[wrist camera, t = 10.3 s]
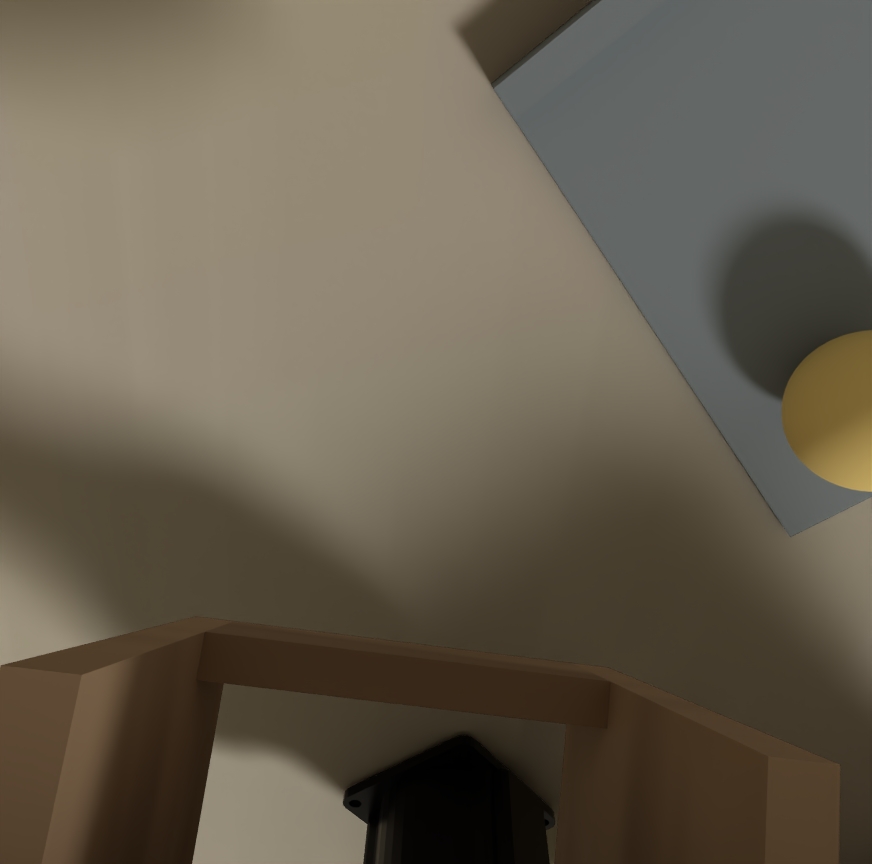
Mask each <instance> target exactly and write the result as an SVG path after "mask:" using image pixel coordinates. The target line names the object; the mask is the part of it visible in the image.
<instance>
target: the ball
mask: <svg viewBox="0 0 872 864" xmlns="http://www.w3.org/2000/svg"><path fill="white" fill-rule="evenodd" d="M781 418H782V424H783V429H784V433H785V435H786V438H787V441H788V443H789V445H790V447H791V448H792V450H793V451H794V453H795V455H796V456H797V457H798V458H799V460H800V461H801V462H802V463H803V464H804V465H805V466H806V467H807V468H808V469H810V470H811V471H812V472H813V473H815V474H816V475H818V476H819V477H821V478H823V479H825V480H827V481H829V482H831V483H833V484H835V485H838V486H841V487H844V488H848V489H852V490H858V491H867V492H872V330H866V331H859V332H854V333H850V334H846V335H843V336H840V337H838V338H835V339H833V340H830V341H828V342H827V343H825V344H823V345H821V346H820V347H818V348H817V349H815V350H814V351H813V352H812V353H810V354H809V355H808V356H807V357H806V358H805V359H804V360H803V361H802V362H801V363H800V364H799V366H798V367H797V368H796V369H795V371H794V372H793V374H792V376H791V377H790V379H789V381H788V383H787V386H786V388H785V391H784V395H783V400H782V412H781Z"/></svg>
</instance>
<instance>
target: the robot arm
mask: <svg viewBox="0 0 872 864" xmlns="http://www.w3.org/2000/svg"><path fill="white" fill-rule="evenodd" d="M343 805H344V806H345V808H347V809H348V810H349V811H351V812H352V813H353V814H355V815H356V816H357V817H359V818H360V819H361V820H363V821H364V822H365V823H367V824H368V825H367V834H366V844H365V853H364V862H363V864H550V863H549V854H548V845H547V836H546V830H547V829H550V828H551V827H553V826H554V825H555V817H554V811H553V810H552V809H551V808H550V807H549V806H548V805H547V804H546V803H545V802H544V801H542V799H541V798H540V797H538V796H537V795H536V794H535V793H534V792H533V791H532V790H531V789H530V788H528V787H527V786H526V785H525V784H524V783H523V782H522V781H521V780H520V779H518V778H517V777H516V776H515V775H514V774H513V773H512V772H511V771H510V770H508V769H507V768H506V767H505V766H504V765H502V764H501V763H500V762H499V761H498V760H497V759H496V758H495V757H494V756H492V755H491V754H490V753H489V752H488V751H487V750H486V749H485V748H484V747H482V746H481V745H480V744H479V743H478V742H477V741H476V740H475V739H473V738H472V737H469V736H458V737H455V738H453V739H451V740H449V741H447V742H445V743H443V744H441V745H438V746H436V747H434V748H432V749H430V750H428V751H426V752H424V753H422V754H420V755H417V756H415V757H413V758H411V759H409V760H407V761H405V762H403V763H401V764H399V765H396V766H394V767H392V768H390V769H388V770H386V771H384V772H382V773H380V774H378V775H376V776H373V777H371V778H369V779H367V780H365V781H363V782H361V783H359V784H357V785H355V786H352V787H350V788H348V789H347V790H346V791H345V793H344V799H343Z"/></svg>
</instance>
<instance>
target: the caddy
mask: <svg viewBox="0 0 872 864" xmlns="http://www.w3.org/2000/svg"><path fill="white" fill-rule="evenodd" d="M224 683H227V684H235V685H244V686H252V687H261V688H269V689H277V690H286V691H294V692H303V693H311V694H319V695H328V696H336V697H344V698H353V699H361V700H370V701H378V702H386V703H395V704H403V705H412V706H420V707H428V708H437V709H445V710H453V711H462V712H470V713H479V714H487V715H495V716H504V717H512V718H521V719H529V720H537V721H546V722H554V723H562V724H566V735H565V747H564V759H563V770H562V782H561V794H560V805H559V817H558V829H557V840H556V852H555V864H839V829H840V765H839V764H837V763H835V762H832V761H830V760H827V759H825V758H823V757H820V756H818V755H815V754H813V753H811V752H808V751H806V750H804V749H801V748H799V747H796V746H794V745H792V744H789V743H787V742H784V741H782V740H780V739H777V738H775V737H773V736H770V735H768V734H765V733H763V732H761V731H758V730H756V729H753V728H751V727H749V726H746V725H744V724H742V723H739V722H737V721H734V720H732V719H730V718H727V717H725V716H722V715H720V714H718V713H715V712H713V711H711V710H708V709H706V708H703V707H701V706H699V705H696V704H694V703H691V702H689V701H687V700H684V699H682V698H680V697H677V696H675V695H672V694H670V693H668V692H665V691H663V690H660V689H658V688H656V687H653V686H651V685H649V684H646V683H644V682H641V681H639V680H637V679H634V678H632V677H629V676H627V675H625V674H622V673H620V672H618V671H615V670H613V669H610V668H608V667H600V666H591V665H583V664H575V663H567V662H559V661H551V660H543V659H535V658H527V657H519V656H511V655H503V654H495V653H486V652H478V651H470V650H462V649H454V648H446V647H438V646H430V645H422V644H414V643H406V642H398V641H390V640H382V639H373V638H365V637H357V636H349V635H341V634H333V633H325V632H317V631H309V630H301V629H293V628H285V627H277V626H269V625H260V624H252V623H244V622H236V621H228V620H220V619H212V618H204V617H192V618H188V619H184V620H180V621H176V622H172V623H168V624H164V625H160V626H156V627H152V628H148V629H144V630H140V631H136V632H132V633H128V634H124V635H120V636H116V637H112V638H108V639H104V640H100V641H96V642H92V643H88V644H84V645H80V646H76V647H72V648H68V649H64V650H60V651H56V652H52V653H49V654H45V655H41V656H37V657H33V658H29V659H25V660H21V661H17V662H13V663H9V664H5V665H1V668H0V864H192V860H193V855H194V849H195V843H196V838H197V832H198V826H199V821H200V815H201V809H202V803H203V798H204V792H205V786H206V781H207V775H208V769H209V764H210V758H211V752H212V747H213V741H214V735H215V729H216V724H217V718H218V712H219V707H220V701H221V695H222V690H223V684H224Z"/></svg>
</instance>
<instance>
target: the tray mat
mask: <svg viewBox="0 0 872 864" xmlns="http://www.w3.org/2000/svg"><path fill="white" fill-rule="evenodd" d="M491 85H492V87H493V89H494V90H495V92H496V93H497V95H498V96H499V98H500V99H501V101H502V102H503V104H504V105H505V107H506V108H507V110H508V111H509V113H510V114H511V116H512V117H513V119H514V120H515V121H516V123H517V124H518V126H519V127H520V129H521V130H522V132H523V133H524V135H525V136H526V138H527V139H528V141H529V142H530V144H531V145H532V147H533V148H534V150H535V152H536V153H537V155H538V156H539V158H540V159H541V161H542V162H543V164H544V165H545V167H546V168H547V170H548V171H549V173H550V174H551V176H552V177H553V179H554V180H555V182H556V183H557V185H558V186H559V188H560V189H561V191H562V192H563V194H564V195H565V197H566V198H567V200H568V202H569V203H570V205H571V206H572V208H573V209H574V211H575V212H576V214H577V215H578V217H579V218H580V220H581V221H582V223H583V224H584V226H585V227H586V229H587V230H588V232H589V233H590V235H591V236H592V238H593V239H594V241H595V242H596V244H597V245H598V247H599V248H600V250H601V252H602V253H603V255H604V256H605V258H606V259H607V261H608V262H609V264H610V265H611V267H612V268H613V270H614V271H615V273H616V274H617V276H618V277H619V279H620V280H621V282H622V283H623V285H624V286H625V288H626V289H627V291H628V292H629V294H630V295H631V297H632V298H633V300H634V302H635V303H636V305H637V306H638V308H639V309H640V311H641V312H642V314H643V315H644V317H645V318H646V320H647V321H648V323H649V324H650V326H651V327H652V329H653V330H654V332H655V333H656V335H657V336H658V338H659V339H660V341H661V342H662V344H663V345H664V347H665V348H666V350H667V351H668V353H669V355H670V356H671V358H672V359H673V361H674V362H675V364H676V365H677V367H678V368H679V370H680V371H681V373H682V374H683V376H684V377H685V379H686V380H687V382H688V383H689V385H690V386H691V388H692V389H693V391H694V392H695V394H696V395H697V397H698V398H699V400H700V401H701V403H702V405H703V406H704V408H705V409H706V411H707V412H708V414H709V415H710V417H711V418H712V420H713V421H714V423H715V424H716V426H717V427H718V429H719V430H720V432H721V433H722V435H723V436H724V438H725V439H726V441H727V442H728V444H729V445H730V447H731V448H732V450H733V451H734V453H735V455H736V456H737V458H738V459H739V461H740V462H741V464H742V465H743V467H744V468H745V470H746V471H747V473H748V474H749V476H750V477H751V479H752V480H753V482H754V483H755V485H756V486H757V488H758V489H759V491H760V492H761V494H762V495H763V497H764V498H765V500H766V501H767V503H768V505H769V506H770V508H771V509H772V511H773V512H774V514H775V515H776V517H777V518H778V520H779V521H780V523H781V524H782V526H783V527H784V529H785V530H786V532H787V533H788V535H789V536H790V537H792V536H794V535H796V534H798V533H800V532H802V531H804V530H806V529H808V528H810V527H812V526H814V525H816V524H818V523H820V522H822V521H824V520H826V519H828V518H830V517H832V516H834V515H836V514H838V513H840V512H842V511H844V510H846V509H848V508H850V507H852V506H854V505H856V504H858V503H860V502H862V501H864V500H866V499H868V498H870V497H872V492H867V491H858V490H852V489H848V488H844V487H841V486H838V485H835V484H833V483H831V482H829V481H827V480H825V479H823V478H821V477H819V476H818V475H816V474H815V473H813V472H812V471H811V470H810V469H808V468H807V467H806V466H805V465H804V464H803V463H802V462H801V461H800V460H799V458H798V457H797V456H796V455H795V453H794V451H793V450H792V448H791V447H790V445H789V443H788V441H787V438H786V435H785V433H784V429H783V424H782V418H781V412H782V400H783V395H784V391H785V388H786V386H787V383H788V381H789V379H790V377H791V376H792V374H793V372H794V371H795V369H796V368H797V367H798V366H799V364H800V363H801V362H802V361H803V360H804V359H805V358H806V357H807V356H808V355H809V354H810V353H812V352H813V351H814V350H815V349H817V348H818V347H820V346H821V345H823V344H825V343H827V342H828V341H830V340H833V339H835V338H838V337H840V336H843V335H846V334H850V333H854V332H859V331H866V330H872V0H593V1H591V2H590V3H589V4H588V5H587V6H585V7H584V8H583V9H582V10H580V11H579V12H578V13H577V14H576V15H574V16H573V17H572V18H571V19H569V20H568V21H567V22H566V23H565V24H563V25H562V26H561V27H560V28H559V29H557V30H556V31H555V32H554V33H552V34H551V35H550V36H549V37H548V38H546V39H545V40H544V41H543V42H541V43H540V44H539V45H538V46H537V47H535V48H534V49H533V50H532V51H531V52H529V53H528V54H527V55H526V56H524V57H523V58H522V59H521V60H520V61H518V62H517V63H516V64H515V65H513V66H512V67H511V68H510V69H509V70H507V71H506V72H505V73H504V74H503V75H501V76H500V77H499V78H498V79H496V80H495V81H494V82H493V83H492V84H491Z"/></svg>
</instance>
